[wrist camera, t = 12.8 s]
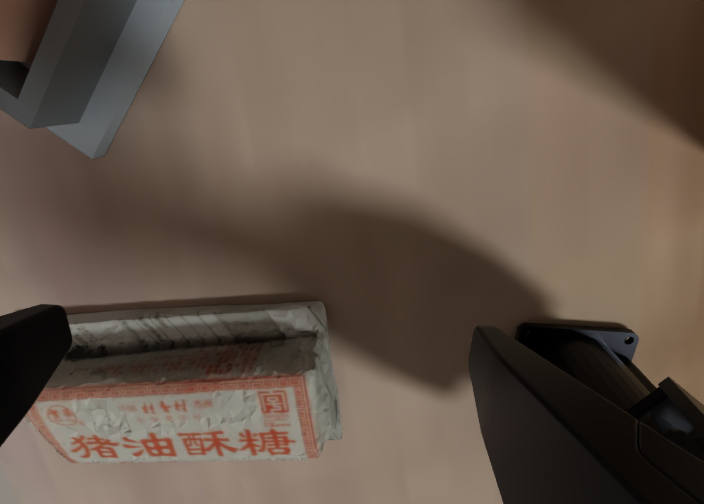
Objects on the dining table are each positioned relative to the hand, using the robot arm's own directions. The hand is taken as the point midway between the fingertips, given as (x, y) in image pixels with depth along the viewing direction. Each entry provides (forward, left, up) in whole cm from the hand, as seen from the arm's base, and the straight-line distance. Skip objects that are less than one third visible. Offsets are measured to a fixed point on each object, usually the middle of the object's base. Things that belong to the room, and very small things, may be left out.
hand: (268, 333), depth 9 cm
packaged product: (+8, +12, -14) cm, 20 cm away
